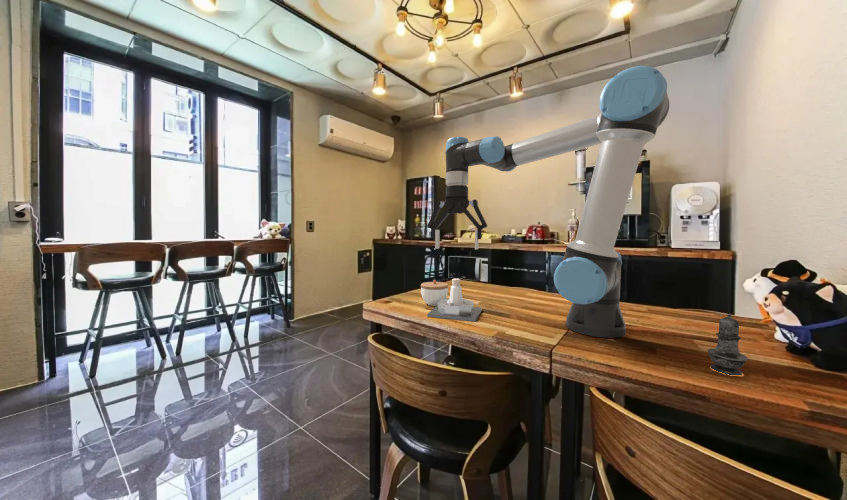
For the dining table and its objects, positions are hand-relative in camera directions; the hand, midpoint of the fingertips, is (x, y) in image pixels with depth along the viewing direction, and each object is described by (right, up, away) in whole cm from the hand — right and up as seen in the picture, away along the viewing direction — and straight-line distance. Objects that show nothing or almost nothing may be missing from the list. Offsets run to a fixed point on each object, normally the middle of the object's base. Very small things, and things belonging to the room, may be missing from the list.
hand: (456, 249), depth 103 cm
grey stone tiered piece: (+51, -25, -41) cm, 70 cm away
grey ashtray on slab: (0, -22, +2) cm, 22 cm away
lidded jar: (-7, -22, +15) cm, 27 cm away
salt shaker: (0, -22, +1) cm, 22 cm away
